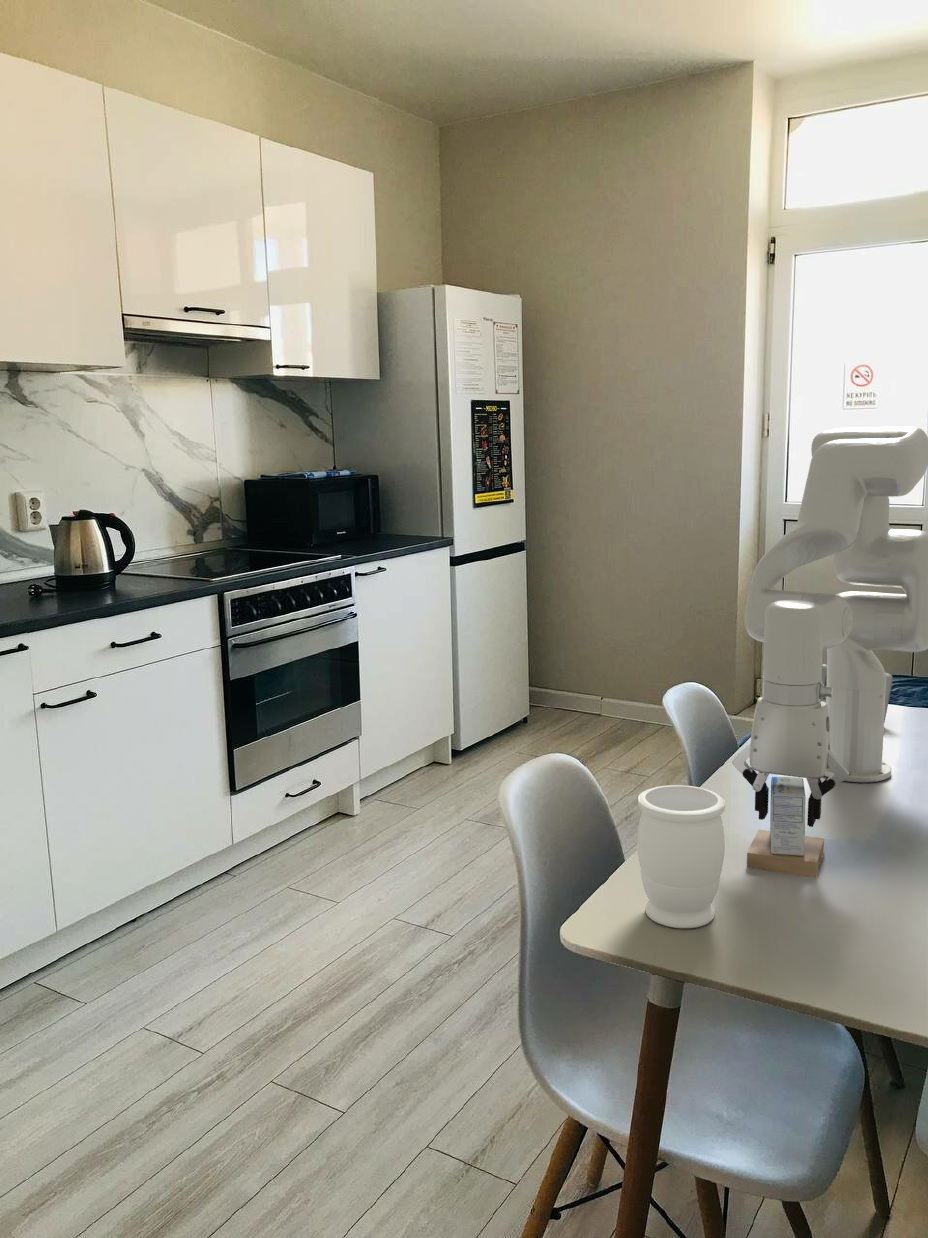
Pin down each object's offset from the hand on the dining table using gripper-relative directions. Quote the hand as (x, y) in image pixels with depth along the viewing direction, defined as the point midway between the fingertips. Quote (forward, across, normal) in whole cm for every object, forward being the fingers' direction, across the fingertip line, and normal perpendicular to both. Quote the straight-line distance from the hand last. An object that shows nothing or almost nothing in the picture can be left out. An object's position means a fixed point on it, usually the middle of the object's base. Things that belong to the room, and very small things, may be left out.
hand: (787, 818), depth 139 cm
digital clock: (+6, 0, -78) cm, 78 cm away
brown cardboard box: (+7, 0, 0) cm, 7 cm away
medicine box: (+4, 0, 0) cm, 4 cm away
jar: (+6, +9, +22) cm, 25 cm away
